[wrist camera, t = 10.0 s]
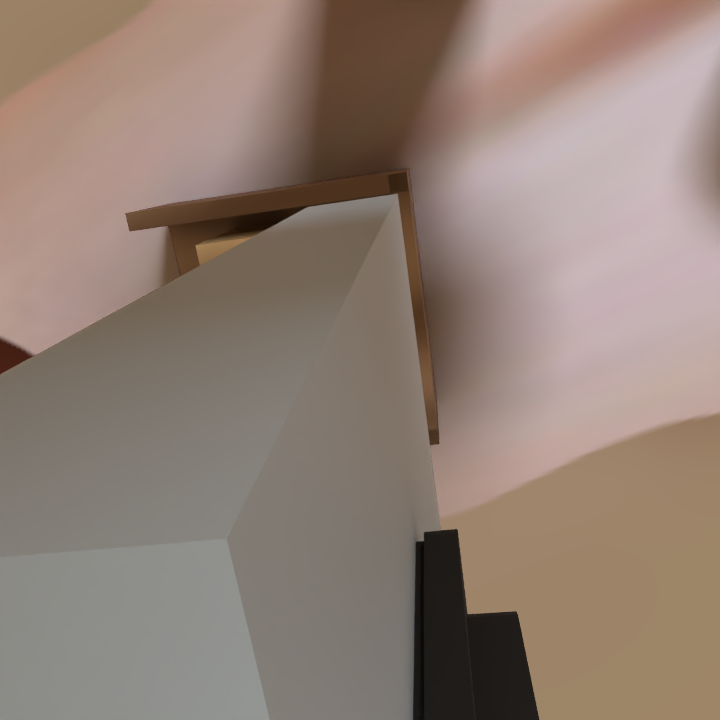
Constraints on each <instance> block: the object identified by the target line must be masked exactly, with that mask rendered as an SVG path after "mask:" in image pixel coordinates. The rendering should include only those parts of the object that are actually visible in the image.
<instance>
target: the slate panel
mask: <svg viewBox="0 0 720 720" xmlns="http://www.w3.org/2000/svg"><path fill="white" fill-rule="evenodd" d="M428 531H441V527H440V520H439V512H438V504H437V496H436V488H435V481H434V473H433V465H432V457H431V449H430V442H429V434H428V426H427V418H426V410H425V403H424V395H423V387H422V379H421V371H420V364H419V356H418V348H417V340H416V332H415V324H414V317H413V309H412V301H411V293H410V285H409V278H408V270H407V262H406V254H405V246H404V239H403V231H402V223H401V215H400V207H399V200H398V194H393V195H386V196H379V197H372V198H365V199H359V200H352V201H345V202H338V203H331V204H324V205H318V206H311V207H307V208H305V209H303V210H301V211H300V212H298V213H296V214H294V215H292V216H290V217H289V218H287V219H285V220H283V221H281V222H279V223H278V224H276V225H274V226H272V227H270V228H268V229H267V230H265V231H263V232H261V233H259V234H257V235H256V236H254V237H252V238H250V239H248V240H246V241H245V242H243V243H241V244H239V245H237V246H235V247H233V248H232V249H230V250H228V251H226V252H224V253H222V254H221V255H219V256H217V257H215V258H213V259H211V260H210V261H208V262H206V263H204V264H202V265H200V266H199V267H197V268H195V269H193V270H191V271H189V272H188V273H186V274H184V275H182V276H180V277H178V278H177V279H175V280H173V281H171V282H169V283H167V284H166V285H164V286H162V287H160V288H158V289H156V290H154V291H153V292H151V293H149V294H147V295H145V296H143V297H142V298H140V299H138V300H136V301H134V302H132V303H131V304H129V305H127V306H125V307H123V308H121V309H120V310H118V311H116V312H114V313H112V314H110V315H109V316H107V317H105V318H103V319H101V320H99V321H98V322H96V323H94V324H92V325H90V326H88V327H87V328H85V329H83V330H81V331H79V332H77V333H75V334H74V335H72V336H70V337H68V338H66V339H64V340H63V341H61V342H59V343H57V344H55V345H53V346H52V347H50V348H48V349H46V350H44V351H42V352H41V353H39V354H37V355H35V356H33V357H31V358H30V359H28V360H26V361H24V362H22V363H21V364H19V365H17V366H15V367H13V368H11V369H9V370H8V371H6V372H4V373H2V374H0V720H413V686H414V624H415V562H416V542H417V541H424V532H428Z"/></svg>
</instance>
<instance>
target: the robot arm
mask: <svg viewBox="0 0 720 720" xmlns="http://www.w3.org/2000/svg"><path fill="white" fill-rule="evenodd" d="M413 720H539V716H538V711H537V706H536V702H535V697H534V692H533V687H532V682H531V677H530V672H529V667H528V662H527V657H526V652H525V647H524V643H523V638H522V633H521V628H520V623H519V618H518V614H517V612H499V613H484V614H467V607H466V598H465V589H464V581H463V573H462V564H461V555H460V547H459V538H458V530H457V529H454V530H441V531H428V532H424V541H417V542H416V562H415V624H414V686H413Z"/></svg>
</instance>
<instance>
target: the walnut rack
mask: <svg viewBox="0 0 720 720" xmlns="http://www.w3.org/2000/svg"><path fill="white" fill-rule="evenodd" d="M393 194H398V200H399V207H400V215H401V223H402V231H403V239H404V246H405V254H406V262H407V270H408V278H409V285H410V293H411V301H412V309H413V317H414V324H415V332H416V340H417V348H418V356H419V364H420V371H421V379H422V387H423V395H424V403H425V410H426V418H427V426H428V434H429V442H430V445H434V444H439V430H438V413H437V399H436V391H435V382H434V374H433V365H432V357H431V349H430V340H429V332H428V324H427V315H426V307H425V298H424V290H423V282H422V273H421V265H420V256H419V248H418V240H417V231H416V223H415V215H414V206H413V198H412V189H411V181H410V173H409V168H407V169H400V170H393V171H387V172H380V173H373V174H367V175H360V176H353V177H346V178H340V179H333V180H326V181H320V182H313V183H306V184H299V185H293V186H286V187H279V188H273V189H266V190H259V191H252V192H246V193H239V194H232V195H225V196H219V197H212V198H205V199H199V200H192V201H185V202H178V203H172V204H167V205H162V206H158V207H153V208H148V209H144V210H139V211H135V212H130V213H126V218H127V222H128V227H129V231H135V230H142V229H149V228H156V227H163V226H169V228H170V232H171V236H172V241H173V245H174V250H175V254H176V259H177V263H178V267H179V272H180V276H182V275H184V274H186V273H188V272H189V271H191V270H193V269H195V268H197V267H199V266H200V264H199V259H198V255H197V250H196V246H195V245H197V244H200V243H202V242H204V241H207V240H209V239H211V238H214V237H216V236H218V235H221V234H223V233H225V232H228V231H230V230H237V229H244V228H251V227H258V226H265V225H272V224H278V223H279V222H281V221H283V220H285V219H287V218H289V217H290V216H292V215H294V214H296V213H298V212H300V211H301V210H303V209H305V208H307V207H311V206H318V205H324V204H331V203H338V202H345V201H352V200H359V199H365V198H372V197H379V196H386V195H393Z"/></svg>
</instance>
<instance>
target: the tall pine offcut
mask: <svg viewBox="0 0 720 720" xmlns="http://www.w3.org/2000/svg"><path fill="white" fill-rule="evenodd" d="M274 225H276V224H272V225H265V226H258V227H251V228H244V229H237V230H230V231H228V232H225V233H223V234H221V235H218V236H216V237H214V238H211V239H209V240H207V241H204V242H202V243H200V244H197V245H195V246H196V250H197V255H198V259H199V264H200V265H202V264H204V263H206V262H208V261H210V260H211V259H213V258H215V257H217V256H219V255H221V254H222V253H224V252H226V251H228V250H230V249H232V248H233V247H235V246H237V245H239V244H241V243H243V242H245V241H246V240H248V239H250V238H252V237H254V236H256V235H257V234H259V233H261V232H263V231H265V230H267V229H268V228H270V227H272V226H274Z"/></svg>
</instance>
